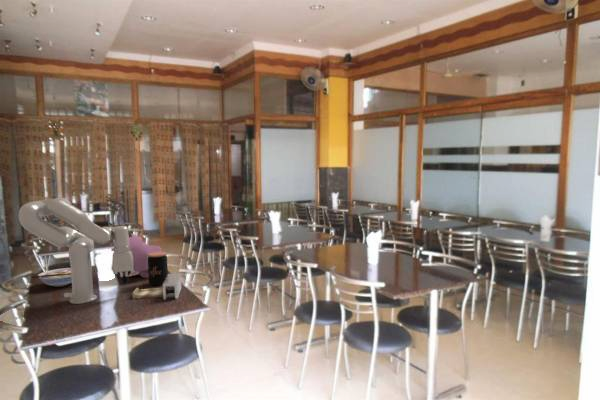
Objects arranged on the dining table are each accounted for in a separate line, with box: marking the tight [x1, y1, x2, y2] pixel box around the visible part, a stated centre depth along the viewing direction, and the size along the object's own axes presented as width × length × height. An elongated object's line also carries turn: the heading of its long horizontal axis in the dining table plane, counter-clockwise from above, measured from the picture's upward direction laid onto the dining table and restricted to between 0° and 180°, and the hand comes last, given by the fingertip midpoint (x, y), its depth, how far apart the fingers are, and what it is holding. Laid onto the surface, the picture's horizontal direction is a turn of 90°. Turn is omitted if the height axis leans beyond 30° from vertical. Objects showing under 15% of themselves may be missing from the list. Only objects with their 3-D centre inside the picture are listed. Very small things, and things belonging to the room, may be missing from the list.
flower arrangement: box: [128, 233, 163, 279], centre depth 266 cm, size 35×24×28 cm
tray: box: [131, 287, 163, 300], centre depth 225 cm, size 15×10×3 cm, turn 100°
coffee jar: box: [148, 251, 169, 287], centre depth 244 cm, size 11×11×18 cm
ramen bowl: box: [31, 267, 72, 288], centre depth 245 cm, size 25×23×8 cm
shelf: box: [162, 272, 183, 300], centre depth 226 cm, size 7×20×8 cm, turn 10°
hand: (125, 283), depth 222 cm, fingers closed
